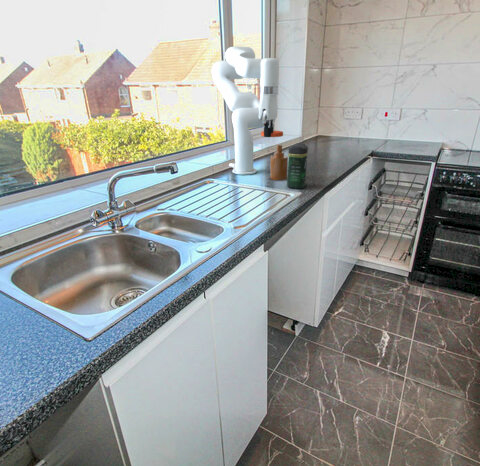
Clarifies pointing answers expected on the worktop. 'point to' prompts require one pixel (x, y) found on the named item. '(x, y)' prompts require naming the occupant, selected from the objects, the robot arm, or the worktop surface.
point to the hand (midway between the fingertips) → (268, 136)
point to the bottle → (278, 165)
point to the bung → (274, 134)
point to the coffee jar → (297, 166)
